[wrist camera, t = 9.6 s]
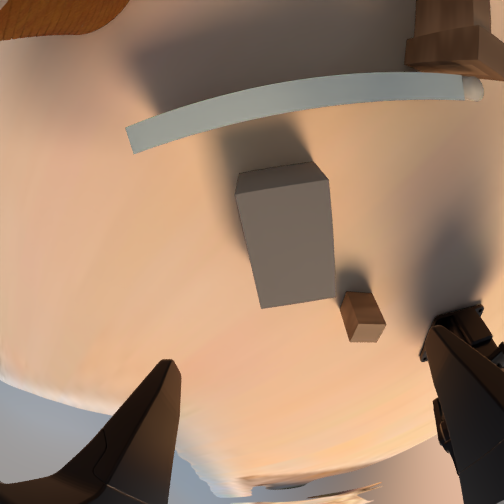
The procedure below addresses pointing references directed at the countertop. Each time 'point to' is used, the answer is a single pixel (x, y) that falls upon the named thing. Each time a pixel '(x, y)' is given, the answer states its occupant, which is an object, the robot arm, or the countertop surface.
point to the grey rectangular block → (288, 233)
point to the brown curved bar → (435, 61)
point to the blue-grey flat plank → (299, 101)
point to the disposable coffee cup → (55, 17)
